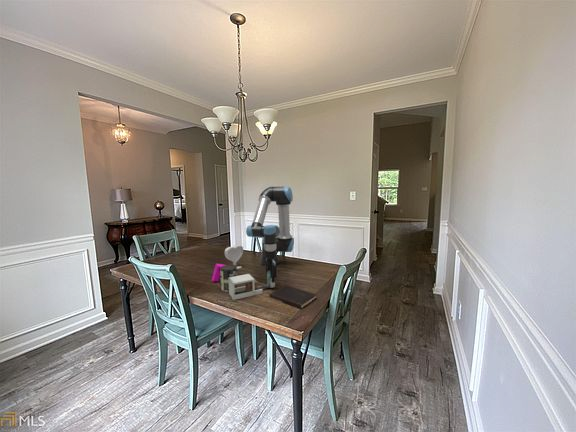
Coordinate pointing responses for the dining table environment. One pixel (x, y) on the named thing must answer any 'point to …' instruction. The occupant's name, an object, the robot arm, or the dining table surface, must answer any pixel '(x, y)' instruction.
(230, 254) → the heart sculpture
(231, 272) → the coffee can
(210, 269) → the dining table surface
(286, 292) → the hardcover book
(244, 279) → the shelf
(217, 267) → the toy block
